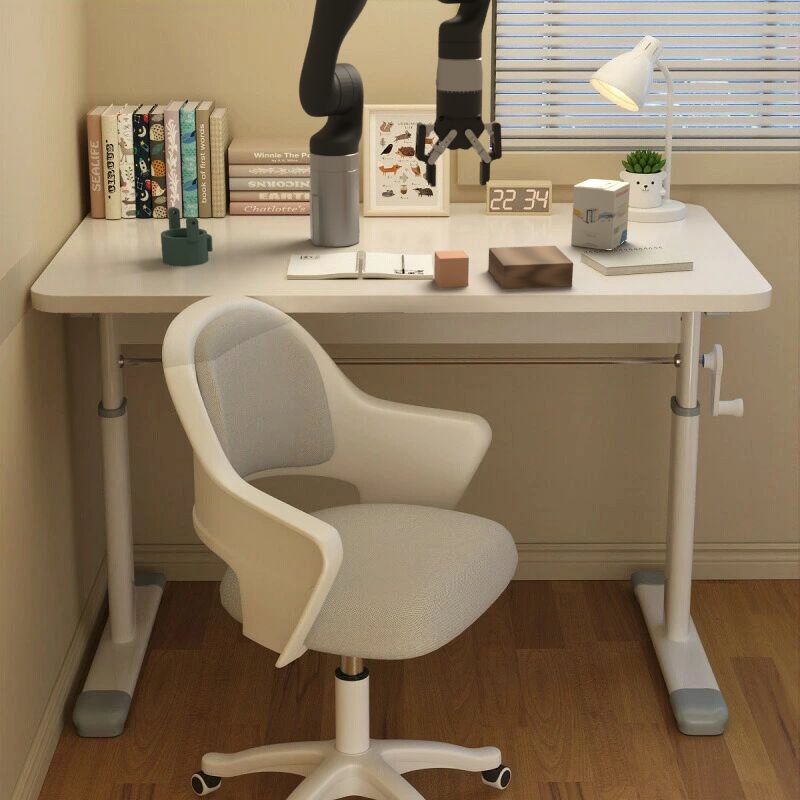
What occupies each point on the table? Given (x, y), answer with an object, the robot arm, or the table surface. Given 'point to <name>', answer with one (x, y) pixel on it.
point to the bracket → (184, 242)
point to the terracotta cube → (451, 268)
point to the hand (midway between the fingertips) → (457, 185)
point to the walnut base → (530, 267)
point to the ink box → (600, 213)
